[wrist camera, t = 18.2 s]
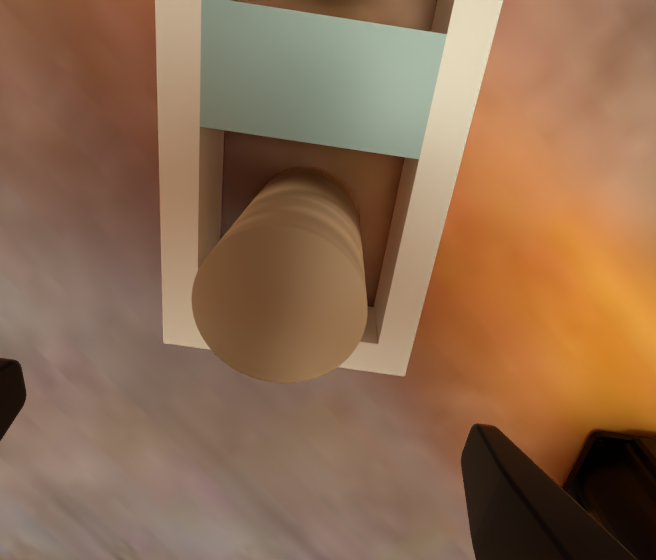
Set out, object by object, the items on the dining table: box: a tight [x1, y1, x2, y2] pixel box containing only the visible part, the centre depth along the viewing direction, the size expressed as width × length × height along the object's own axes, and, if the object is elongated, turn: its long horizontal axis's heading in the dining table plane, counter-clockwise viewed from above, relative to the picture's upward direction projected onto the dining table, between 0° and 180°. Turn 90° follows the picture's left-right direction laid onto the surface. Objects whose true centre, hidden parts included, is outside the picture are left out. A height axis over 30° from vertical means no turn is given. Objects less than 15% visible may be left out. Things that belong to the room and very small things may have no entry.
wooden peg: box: [191, 167, 368, 383], centre depth 16 cm, size 5×5×9 cm
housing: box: [155, 0, 503, 376], centre depth 16 cm, size 23×11×4 cm, turn 172°
